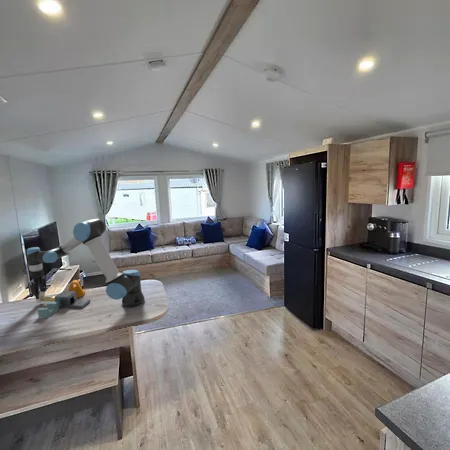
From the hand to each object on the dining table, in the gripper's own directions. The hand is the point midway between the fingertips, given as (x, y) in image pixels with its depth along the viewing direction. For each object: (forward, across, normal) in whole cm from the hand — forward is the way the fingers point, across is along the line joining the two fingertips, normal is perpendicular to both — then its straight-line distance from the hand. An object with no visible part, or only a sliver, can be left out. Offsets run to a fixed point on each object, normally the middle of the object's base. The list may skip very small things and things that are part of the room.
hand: (41, 301), depth 189 cm
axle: (0, 0, +7) cm, 7 cm away
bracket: (+2, -14, +16) cm, 22 cm away
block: (+2, 0, +24) cm, 24 cm away
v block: (+2, +12, +16) cm, 20 cm away
